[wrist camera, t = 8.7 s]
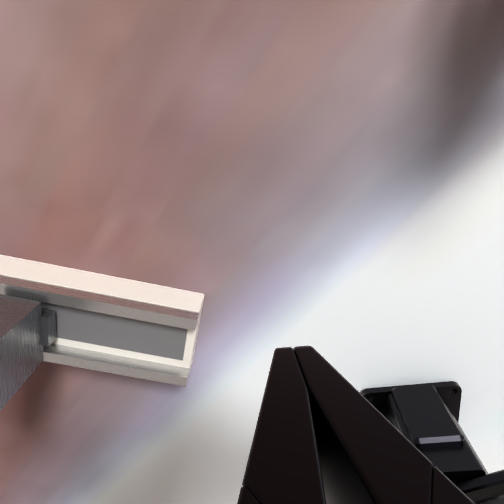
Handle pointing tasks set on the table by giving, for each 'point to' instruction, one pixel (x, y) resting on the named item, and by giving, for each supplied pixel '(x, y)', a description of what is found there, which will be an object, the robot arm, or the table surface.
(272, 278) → the table surface
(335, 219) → the table surface
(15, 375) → the fader tab
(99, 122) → the table surface
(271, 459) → the robot arm
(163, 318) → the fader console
